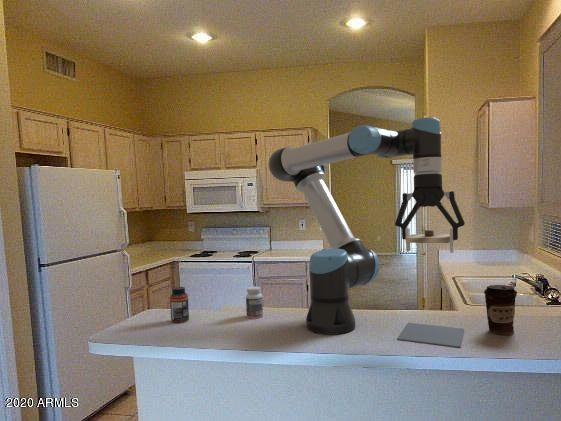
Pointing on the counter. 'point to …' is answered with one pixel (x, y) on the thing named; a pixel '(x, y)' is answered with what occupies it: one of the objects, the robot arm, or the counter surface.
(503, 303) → the coffee cup
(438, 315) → the counter surface
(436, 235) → the bamboo lid
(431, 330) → the rubber mat
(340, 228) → the robot arm
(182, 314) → the supplement bottle
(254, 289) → the pill bottle
